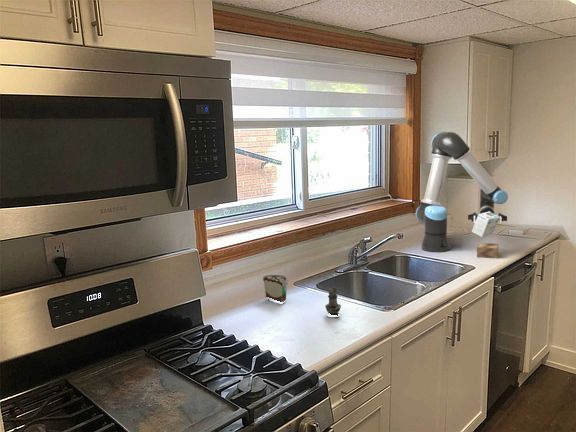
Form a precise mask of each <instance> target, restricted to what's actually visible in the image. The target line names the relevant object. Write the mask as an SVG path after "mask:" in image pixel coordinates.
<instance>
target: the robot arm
mask: <svg viewBox="0 0 576 432" xmlns="http://www.w3.org/2000/svg"><path fill="white" fill-rule="evenodd" d="M430 145H431V148H432V149H431V153H430V154H431V156H432V162H431V166H430V171H429V174H428V179H427V184H426V189H425V193H424V196H423V199H421V200H420V203H419V206H418V207H417V208H416V210H415V217H416V220H417V221H418V222H419V223H420V224H421V225H423V226H424V236H423V239H422V242H421V250H423V251H425V252H430V253H431V252H432V253H441V252H442V253H443V252H447V251H450V249H451V245H450V241H449V239H448V236H447V235H448V234H447V231H448V210H447V208H446V207H444V206H442V204H441V202H440V199H441V196H442V192H443V191H442V189H443V187H444V183H445V177H446V175H447V174H446V173H447V169H448V165H449V161H450V160H451V159H453V160H454V161H458V162H459V163H460V165H461V166H462V167H463V169H465V171H466V172H467V173H468V174H469V176H470V177H471V179H473V180H474V182H475V183H476V184H477V185H478V186H479V187H480V190H479V191H480V193H479V194H480V195H479V197H480V200H479V213H477V212H472V213H471V214H468V215H467V220H468V221H471V222H473V223H474V224H475V222H476V219H477V216H478V214H481V213H485V212H489V211H490V212H492V213H494V214H496V213H495V211H494V210H495V204H497V205H504V204H505V203H506V202H507V201H508V199H509V196H508V193H507V191H505V190H502V189H501V187H500V186H499V185H498V184H497V183H496V182H495V180H494V179H493V178H492V177H491V175H490V174H489V173H488V172H487V170H485V168H484V167H483V166H482V165H481V163H480V162H479V161H478V159H476V158H475V156H474V155H473V153H472V152H471V149H470V146H469V145H467V143H466V142H465V141H464V139H463V138H462V137H461V136H460V135H459V134H458V133H456V132H453V131H441V132H439V133H436V134H435V135H434V136H433V137H432V139H431V143H430ZM497 215H498V216H500V217H499V220H498V222H499V225H501V224H502V222H508V216H507V215H504V214H502V213H500V212H498V213H497Z"/></svg>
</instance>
